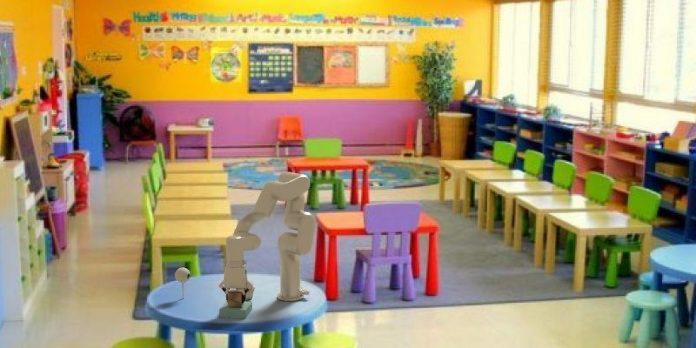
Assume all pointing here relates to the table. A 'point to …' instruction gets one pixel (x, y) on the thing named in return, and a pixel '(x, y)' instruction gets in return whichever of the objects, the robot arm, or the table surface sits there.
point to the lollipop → (182, 277)
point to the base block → (235, 310)
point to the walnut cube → (235, 298)
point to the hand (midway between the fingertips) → (236, 301)
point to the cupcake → (249, 292)
